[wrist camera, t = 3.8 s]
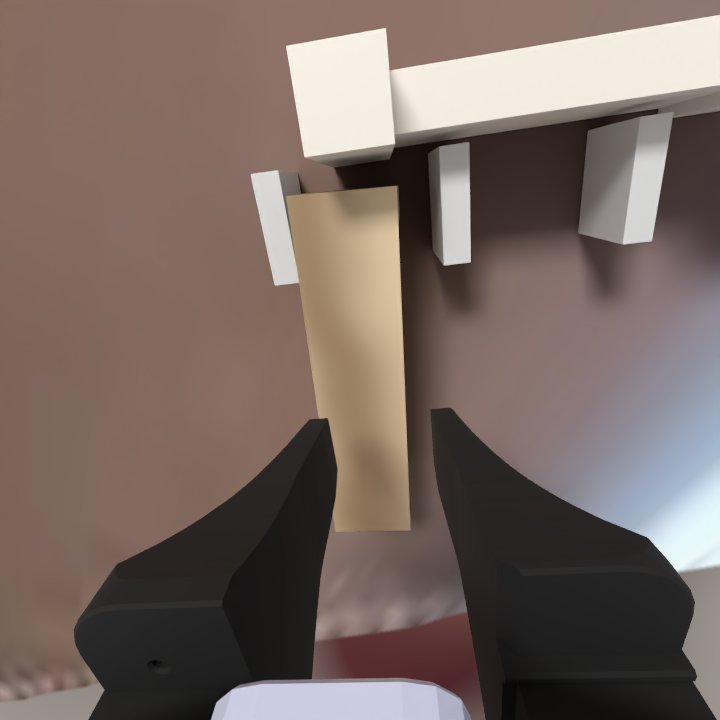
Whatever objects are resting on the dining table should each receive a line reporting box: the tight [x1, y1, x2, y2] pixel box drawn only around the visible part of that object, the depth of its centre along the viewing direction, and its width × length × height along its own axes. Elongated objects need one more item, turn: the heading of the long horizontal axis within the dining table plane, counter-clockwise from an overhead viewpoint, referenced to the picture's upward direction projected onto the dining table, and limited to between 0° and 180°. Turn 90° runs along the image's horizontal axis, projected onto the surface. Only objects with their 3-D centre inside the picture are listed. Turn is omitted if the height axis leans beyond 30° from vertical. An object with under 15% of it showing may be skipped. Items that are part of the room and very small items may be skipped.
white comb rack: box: [251, 15, 720, 285], centre depth 13 cm, size 21×6×7 cm, turn 97°
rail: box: [286, 185, 411, 532], centre depth 18 cm, size 4×15×5 cm, turn 5°
